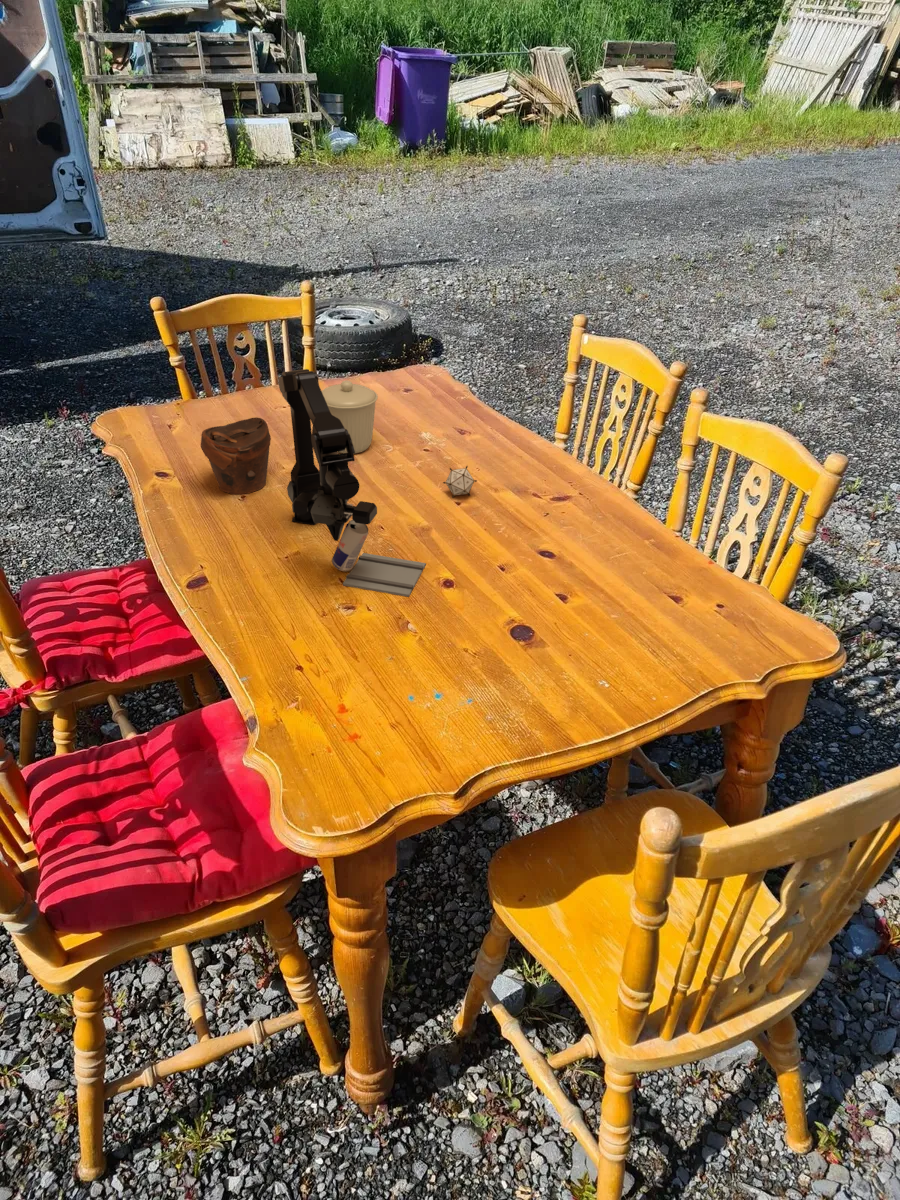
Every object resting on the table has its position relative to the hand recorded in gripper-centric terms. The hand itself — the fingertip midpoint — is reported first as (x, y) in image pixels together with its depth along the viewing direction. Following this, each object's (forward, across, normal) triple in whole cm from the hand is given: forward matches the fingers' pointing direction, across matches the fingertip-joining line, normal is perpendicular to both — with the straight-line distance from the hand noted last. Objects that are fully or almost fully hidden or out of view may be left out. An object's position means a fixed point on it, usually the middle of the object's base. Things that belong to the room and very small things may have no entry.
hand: (336, 540), depth 188 cm
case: (+8, -42, +32) cm, 53 cm away
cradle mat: (+8, +12, 0) cm, 14 cm away
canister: (+8, -22, +65) cm, 69 cm away
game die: (+8, +18, +45) cm, 49 cm away
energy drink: (+7, +1, 0) cm, 7 cm away
